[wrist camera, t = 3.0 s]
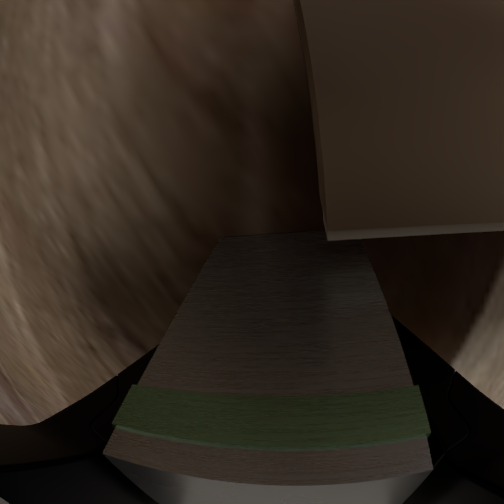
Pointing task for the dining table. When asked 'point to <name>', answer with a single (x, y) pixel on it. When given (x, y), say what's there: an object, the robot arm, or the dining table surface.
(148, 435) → the block
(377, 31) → the tan flat square block
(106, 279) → the dining table surface
